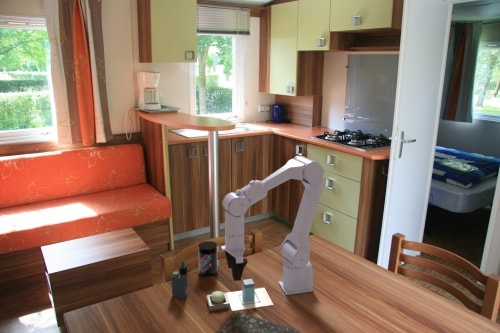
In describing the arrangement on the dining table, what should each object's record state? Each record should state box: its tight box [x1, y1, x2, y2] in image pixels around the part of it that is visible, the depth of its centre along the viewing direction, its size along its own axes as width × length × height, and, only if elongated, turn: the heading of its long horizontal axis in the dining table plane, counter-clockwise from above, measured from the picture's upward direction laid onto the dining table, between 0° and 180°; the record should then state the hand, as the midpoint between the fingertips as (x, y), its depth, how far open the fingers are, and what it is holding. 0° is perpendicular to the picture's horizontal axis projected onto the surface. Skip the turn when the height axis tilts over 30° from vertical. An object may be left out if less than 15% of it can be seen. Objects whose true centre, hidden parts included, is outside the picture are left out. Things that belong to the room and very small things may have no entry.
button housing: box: [206, 292, 230, 311], centre depth 125 cm, size 6×6×2 cm
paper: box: [225, 287, 274, 312], centre depth 128 cm, size 13×10×1 cm
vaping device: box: [170, 261, 189, 299], centre depth 128 cm, size 3×5×12 cm, turn 78°
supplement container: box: [197, 240, 219, 277], centre depth 143 cm, size 7×7×10 cm
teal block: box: [241, 278, 256, 302], centre depth 127 cm, size 3×3×6 cm
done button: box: [210, 290, 225, 304], centre depth 125 cm, size 4×4×2 cm
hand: (234, 273), depth 124 cm, fingers open, 7 cm apart
